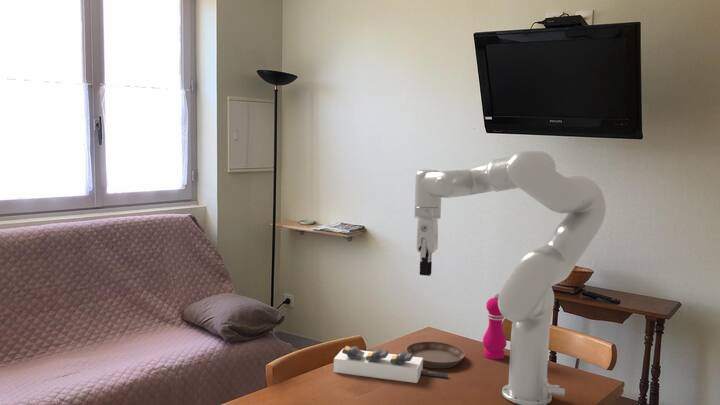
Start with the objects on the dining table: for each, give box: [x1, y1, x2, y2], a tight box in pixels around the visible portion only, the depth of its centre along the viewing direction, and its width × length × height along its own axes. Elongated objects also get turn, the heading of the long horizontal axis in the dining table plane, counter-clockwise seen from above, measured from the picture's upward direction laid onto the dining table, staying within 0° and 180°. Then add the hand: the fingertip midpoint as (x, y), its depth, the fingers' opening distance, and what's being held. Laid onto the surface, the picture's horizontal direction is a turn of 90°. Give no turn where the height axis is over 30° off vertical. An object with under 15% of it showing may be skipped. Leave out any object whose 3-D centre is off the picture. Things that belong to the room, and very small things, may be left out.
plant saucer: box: [405, 341, 466, 369], centre depth 186 cm, size 18×18×3 cm
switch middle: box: [366, 348, 389, 362], centre depth 173 cm, size 6×4×3 cm, turn 74°
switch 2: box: [390, 351, 413, 365], centre depth 171 cm, size 6×4×3 cm, turn 74°
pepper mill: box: [482, 292, 507, 361], centre depth 189 cm, size 7×7×20 cm
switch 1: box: [342, 345, 365, 360], centre depth 175 cm, size 6×4×3 cm, turn 75°
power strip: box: [333, 347, 449, 384], centre depth 174 cm, size 32×9×4 cm, turn 75°
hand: (425, 274), depth 179 cm, fingers closed
